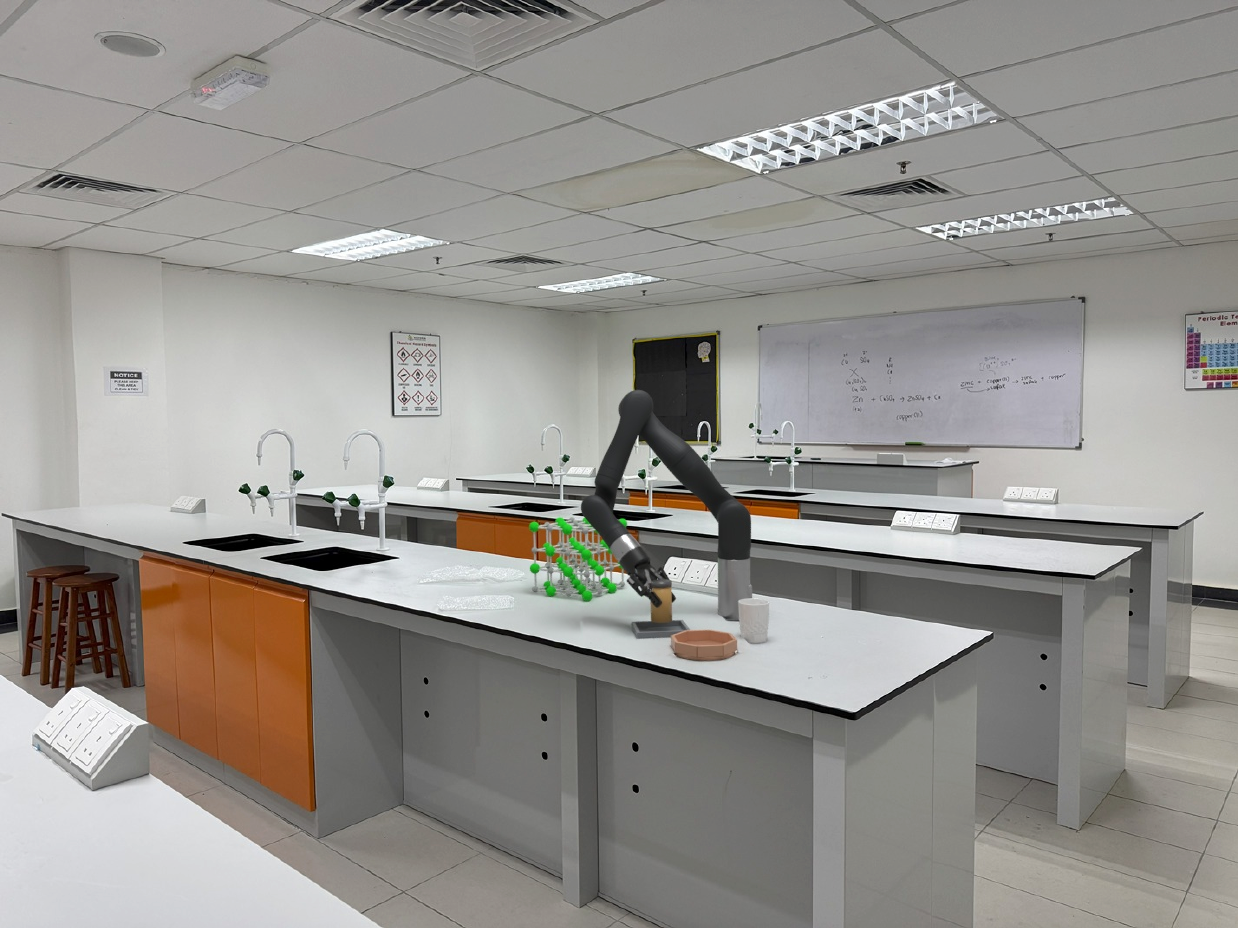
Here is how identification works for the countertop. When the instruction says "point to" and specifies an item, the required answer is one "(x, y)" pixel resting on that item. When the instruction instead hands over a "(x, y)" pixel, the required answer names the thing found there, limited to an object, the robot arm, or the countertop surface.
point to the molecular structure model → (574, 560)
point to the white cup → (754, 619)
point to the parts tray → (658, 629)
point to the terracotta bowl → (703, 645)
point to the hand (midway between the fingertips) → (666, 603)
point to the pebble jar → (665, 594)
